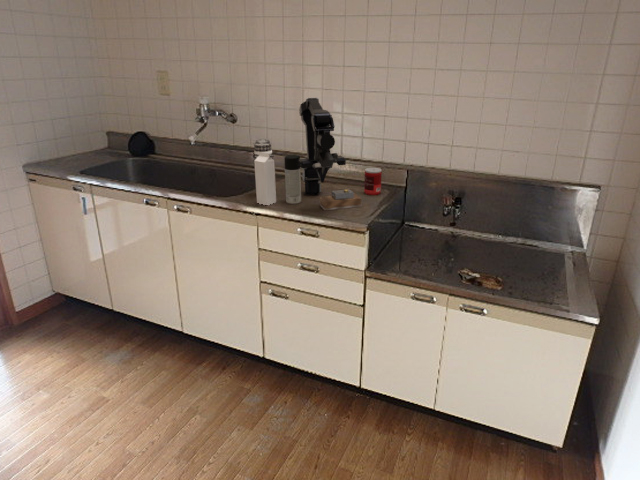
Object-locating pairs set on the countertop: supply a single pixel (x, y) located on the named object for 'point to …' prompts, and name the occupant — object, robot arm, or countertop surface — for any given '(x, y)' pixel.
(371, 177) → the canned food
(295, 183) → the spray can
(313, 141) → the robot arm
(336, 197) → the lever cap
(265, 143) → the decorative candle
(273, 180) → the milk
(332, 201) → the body
